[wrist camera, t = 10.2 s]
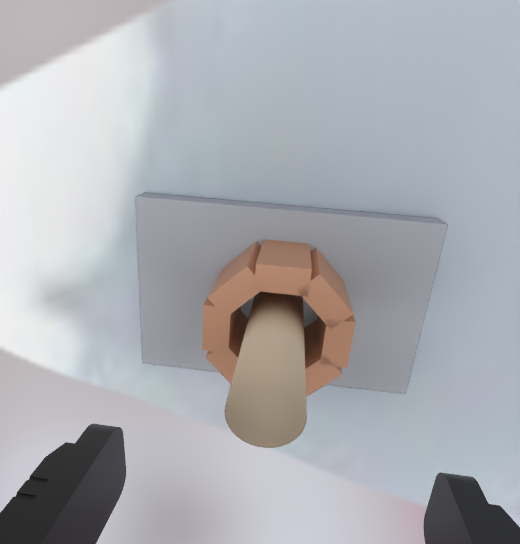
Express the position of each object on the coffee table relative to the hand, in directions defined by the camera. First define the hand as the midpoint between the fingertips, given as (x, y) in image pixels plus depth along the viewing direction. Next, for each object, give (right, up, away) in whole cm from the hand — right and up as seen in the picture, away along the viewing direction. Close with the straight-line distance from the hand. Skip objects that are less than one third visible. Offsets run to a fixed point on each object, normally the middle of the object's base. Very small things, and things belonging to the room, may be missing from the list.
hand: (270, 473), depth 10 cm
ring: (+1, +4, +9) cm, 10 cm away
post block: (+1, +4, +10) cm, 11 cm away
